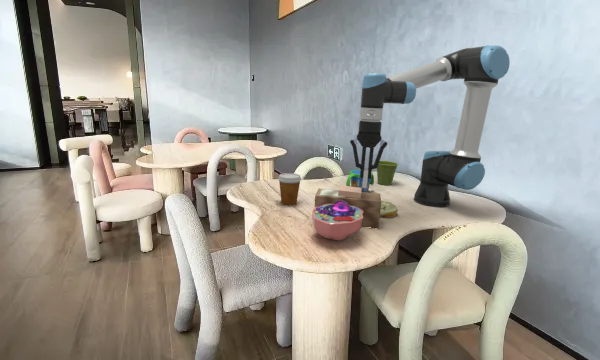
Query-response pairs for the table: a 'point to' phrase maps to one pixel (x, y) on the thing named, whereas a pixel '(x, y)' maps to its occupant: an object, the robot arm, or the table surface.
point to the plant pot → (386, 172)
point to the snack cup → (359, 180)
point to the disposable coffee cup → (289, 188)
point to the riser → (354, 204)
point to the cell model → (337, 220)
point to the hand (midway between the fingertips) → (364, 187)
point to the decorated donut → (388, 209)
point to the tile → (349, 191)
